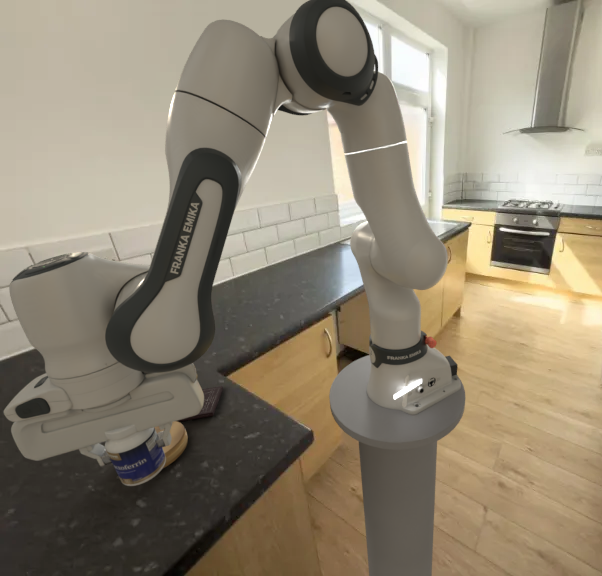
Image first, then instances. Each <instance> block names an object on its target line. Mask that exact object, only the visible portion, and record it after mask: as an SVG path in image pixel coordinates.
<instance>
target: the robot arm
mask: <svg viewBox="0 0 602 576" xmlns="http://www.w3.org/2000/svg"><path fill="white" fill-rule="evenodd" d="M325 110H326V112H327V113H328V114H330V116H331V118H332V119H333V120H334V121H333V122H335V124H336V126H337V130H338V132H339V134H340V140H341V145H342V150H343V151H342V152H343V154H344V161H345V165H346V169H347V173H348V178H349V182H350V187H351V192H352V196H353V199H354V201H355V203H356V205H357V206H358V207H359V208H360V210H361V211H362V213H363V215H364V217H365V219H366V221H364V222H363V221H362V222H361V223H359V224H358V225H357V226H356V227H355V228H354V229H353V232H352V234H351V236H350V240H349V241H350V242H349V245H350V250H351V253H352V255H353V257H354V259H355V260H356V263H357V266H358V269H359V273H360V277H361V280H362V284H363V287H364V292H365V296H366V300H367V304H368V314H369V328H370V329H369V331H370V333H369V337H368V344H369V345H368V353H369V354H368V355H369V356H370V360H371V370H370V376H369V381H368V384H367V394H368V396H369V398H370V399H371V400H372V401H373V402H374V403H376V404H378V405H379V406H382V407H385V408H388V409H395V410H401V411H403V412H405V413H408V414H411V415H415V414H418V413H419V412H421V411H423V410H425V409H426V408H428V407H430V406H432V405H434V404H435V403H437V402H439V401H441V400H442V399H444V398H446V397H448V396H450V395H451V394H453V393H455V392H457V391H458V390H460V389H461V382H462V381H461V382H460V380H461V378H460V377H459V375H458V364H457V362H456V361H455V360H454V359H453V358H452V356H451V355H444V354H443V352H441V351H440V350H439V349H438V348H436V346H437V344H438V343H437V340H436V339H434V338H433V337H432V336H428V335H427V333H426V332H425V331H423V330H422V306H421V301H420V299H419V297H418V295H417V293H416V292H415V290H416V291H417V290H418V291H426V290H429V289H431V288H434V287H435V286H436V285H438V283H439V282H440V281H441V280H442V279H443V277H444V276H445V274H446V271H447V268H448V264H449V254H448V250H447V247H446V245H445V244H444V242H442V240H441V239H440V238H439V237H438V236H437V235H436V233H435V232H434V230H433V228H432V227H431V225H430V223H429V222H428V219H427V218H426V215H425V212H424V210H423V208H422V205H421V203H420V200H419V197H418V195H417V192H416V189H415V183H414V178H413V172H412V167H411V160H410V153H409V145H408V141H407V140H408V139H407V132H406V127H405V122H404V117H403V113H402V109H401V106H400V102H399V98H398V95H397V92H396V89H395V86H394V84H393V82H392V79H390V78H389V76H387V74H385V73H383V72H381V71H379V61H378V57H377V55H376V53H375V49H374V44H373V40H372V37H371V35H370V31H369V30H368V27H367V25H366V23H365V21H364V20H363V18H362V16H361V15H360V13H359V12H358V11H357V9H356V8H355V7H354V6H353V4H351V3H350V2H349V1H347V0H308V1H305V2H304V3H302V4H301V5H300V6H299V7H298V8H297V10H295V13H293V14H292V15H291V16H290V17H288V18H287V19H286V21H284V22H283V23H282V24H281V26H280V27H279V28H278V30H277V31H276V33H275V35H274V36H273V37H270V38H269V37H264V36H262V35H259V34H258V33H257V32H256V31H255V30H253V29H252V28H250V27H248V26H247V25H245V24H243V23H240V22H238V21H234V20H231V19H217V20H214V21H212V22H210V23H209V24H207V26H206V27H205V28H204V29H203V31H202V33H201V34H200V36H199V37H198V39H197V41H196V42H195V45H194V46H193V48H192V49H191V52H190V53H189V55H188V57H187V60H186V61H185V64H184V66H183V68H182V71H181V73H180V75H179V78H178V81H177V83H176V87H175V89H174V94H173V95H172V99H171V103H170V107H169V111H168V117H167V122H166V128H165V138H164V139H165V142H164V154H165V160H166V164H167V170H168V180H169V195H168V203H167V208H166V212H165V216H164V219H163V223H162V225H161V229H160V232H159V235H158V239H157V241H156V245H155V249H154V250H153V251H154V252H153V255H152V258H151V261H150V264H143V263H141V264H140V263H131V262H124V261H117V260H113V259H109V258H106V257H102V256H98V255H96V254H95V253H93V252H92V253H91V252H88V251H76V252H75V251H74V252H69V253H64V254H60V255H57V256H53V257H50V258H46V259H43V260H41V261H38V262H37V263H34V264H31V265H29V266H27V267H26V268H23V270H21V271H20V272H19V273H17V274H16V275H15V276H14V277H13V279H12V280H11V282H10V283H9V288H8V290H9V297H10V301H11V303H12V307H13V310H14V313H15V314H16V318H17V320H18V322H19V324H20V326H21V328H22V330H23V333H24V334H25V336H26V339H27V341H28V342H29V344H30V345H31V346H32V347H33V348H34V349H35V350H36V351H38V352H39V354H40V355H41V356H42V358H43V361H44V371H45V373H43V374H41V375H39V376H36V377H35V378H34V379H32V380H31V381H29V383H27V384H26V385H25V386H24V387H22V389H21V390H19V392H18V393H17V394H16V395H15V396H13V398H12V399H11V401H10V402H9V403H8V404H7V406H6V407H5V408H4V410H3V415H4V416H5V418H6V419H7V420H8V421H9V422H12V425H11V428H10V433H11V435H12V438H13V441H14V443H15V445H16V446H17V448H18V450H19V452H20V453H21V455H22V456H23V457H24V459H28V460H31V461H36V462H38V461H43V460H46V459H49V458H52V457H56V456H61V455H63V454H67V453H70V452H74V451H77V450H78V451H79V453H80V454H81V455H83V456H85V457H89V458H91V459H93V460H96V461H97V463H98V465H99V466H100V467H103V466H106V465H110V464H112V462H111V459H110V457H109V455H108V453H107V451H106V449H105V445H104V444H102V443H105V442H106V441H108V440H111V439H107V437H106V435H105V432H107V431H111V430H115V429H119V428H122V427H126V426H130V425H135V427H136V429H137V431H136V432H140V431H143V430H146V429H150V428H153V427H157V426H159V428H160V430H163V429H164V431H161V432H158V433H157V438H156V440H155V442H156V444H157V445H158V446H157V447H158V448H162V447H165V446H168V445H170V444H171V440H172V437H171V434H170V429H171V426H172V422H174V421H178V420H181V419H185V418H188V417H192V416H195V415H197V414H199V412H200V411H201V409H202V407H203V404H204V394H203V391H202V389H203V388H202V387H201V385H200V382H199V380H198V375H199V374H198V371H197V369H196V365H195V364H194V363H195V362H196V361H197V360H199V359H200V358H201V357H203V355H204V354H205V353H206V352H207V351H208V350H209V348H210V347H211V345H212V343H213V341H214V339H215V334H216V321H215V315H214V310H213V303H212V291H213V287H214V283H215V279H216V275H217V271H218V269H219V264H220V263H221V262H220V261H221V258H222V254H223V251H224V248H225V245H226V241H227V238H228V234H229V230H230V227H231V224H232V220H233V217H234V215H235V211H236V209H237V206H238V204H239V203H240V200H241V198H242V195H243V194H244V191H245V188H246V186H247V184H248V183H249V181H250V178H251V176H252V174H253V172H254V170H255V168H256V165H257V163H258V161H259V158H260V156H261V154H262V151H263V148H264V145H265V143H266V139H267V137H268V134H269V131H270V126H271V123H272V119H273V118H274V116H275V115H276V113H277V111H279V112H283V113H286V114H289V115H294V116H308V115H312V114H314V113H318V112H319V113H320V112H322V111H325ZM459 378H460V379H459Z"/></svg>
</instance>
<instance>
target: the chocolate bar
mask: <svg viewBox="0 0 602 576" xmlns="http://www.w3.org/2000/svg"><path fill="white" fill-rule="evenodd" d="M201 389H202V391H203V394H204V404H203V407H202V409H201V411H200V412H199V414H197V415H195V416H192V417H188V418H185V419H181V420H178V421H177V422H180V423H181V422H186V421H190V420H196V419H197V420H198V419H203V418H208V417H213V416H214V415H215V412H216V410H217V407H218V405H219V401H220V399H221V397H222V395H223V391H224V387H223V385H220V386H213V387H207V388H201Z"/></svg>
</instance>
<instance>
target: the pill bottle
mask: <svg viewBox="0 0 602 576" xmlns="http://www.w3.org/2000/svg"><path fill="white" fill-rule="evenodd" d="M136 431H137V429H136V427H135V425H130V426H126V427H122V428H119V429H115V430H111V431H107V432H105V435H106V437H107V439H111V440H108V441H105V442H104V446H105V449H106V451H107V453H108V455H109V457H110V459H111V462H112V463H111V464H112V466H113V467H114V470H115V472H116V474H117V476H118V478H119V480H120V482H121V483H122V484H123V485H124V486H127V487H137V486H139V485H142V484H145V483H147V482H149V481H150V480H152V479H153V478H155V477H156V476H158V474H159V473H160V472H161V471H162V470H163V469H164V468H165V467H164V465H165V462H166V456H165V453H164V450H163V448H158V447H157V446H158V445H157V444H156V442H155V440H156V438H157V433H156V430H155V427H153V428H150V429H146V430H143V431H140V432H136ZM163 467H164V468H163Z"/></svg>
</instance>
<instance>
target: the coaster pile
mask: <svg viewBox="0 0 602 576" xmlns="http://www.w3.org/2000/svg"><path fill="white" fill-rule="evenodd" d="M155 430H156V433H158V432H161V431H164V429H163V430H160V428H159V426H157V427H155ZM170 434H171V437H172V440H171V444H170V445H168V446H165V447H162V448H163V450H164V453H165V456H166V462H165V465H164V467H163V468H162V469H164V468H166V467H168V466H169V465H171V464H172V463H174V462H175V461H176V460H177V459H178V458H179V457H180V456H181V455H182V454H183V453H184V451H185V449H186V448H187V446H188V441H189V440H188V438H189V436H188V431H187V430H186V428H185V426H184V424H182V423H181V421H180V422H177V421H174V422H172V426H171V429H170Z"/></svg>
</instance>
